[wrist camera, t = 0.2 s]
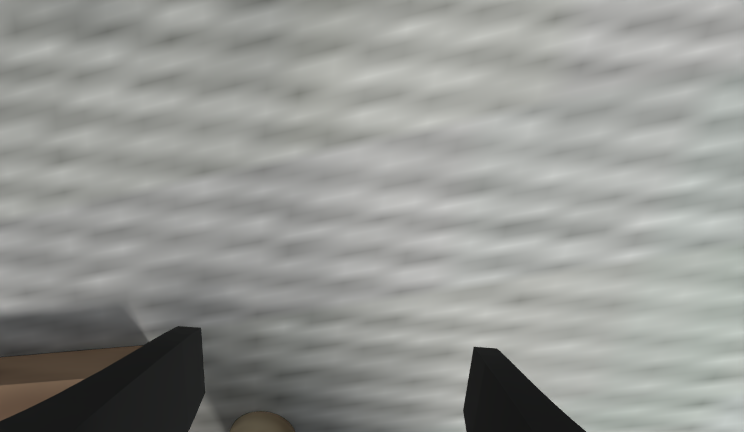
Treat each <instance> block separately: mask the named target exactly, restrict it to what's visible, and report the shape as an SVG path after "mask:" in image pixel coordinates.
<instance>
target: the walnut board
mask: <svg viewBox="0 0 744 432" xmlns="http://www.w3.org/2000/svg"><path fill="white" fill-rule="evenodd" d="M142 346H144V345H142ZM142 346H130V347H118V348H106V349H94V350H82V351H70V352H58V353H46V354H35V355H23V356H11V357H0V421H2V420H4V419H6V418H8V417H10V416H13V415H15V414H17V413H19V412H21V411H23V410H26V409H28V408H30V407H32V406H34V405H36V404H38V403H40V402H42V401H44V400H46V399H48V398H50V397H52V396H54V395H56V394H58V393H60V392H62V391H64V390H65V389H67V388H69V387H71V386H73V385H75V384H77V383H78V382H80V381H82V380H84V379H86V378H88V377H90V376H91V375H93V374H95V373H97V372H99V371H101V370H102V369H104V368H106V367H108V366H109V365H111V364H113V363H114V362H116V361H118V360H120V359H121V358H123V357H125V356H126V355H128V354H130V353H132V352H133V351H135V350H137V349H138V348H140V347H142Z"/></svg>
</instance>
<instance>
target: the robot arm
mask: <svg viewBox="0 0 744 432" xmlns="http://www.w3.org/2000/svg"><path fill="white" fill-rule="evenodd" d="M204 394H205V384H204V369H203V353H202V337H201V328H195V327H181V326H178V327H176V328H174V329H172V330H170V331H168V332H166V333H164V334H162V335H161V336H159V337H157V338H155V339H154V340H152V341H150V342H149V343H147V344H145V345H144V346H142V347H140V348H138V349H137V350H135V351H133V352H132V353H130V354H128V355H126V356H125V357H123V358H121V359H120V360H118V361H116V362H114V363H113V364H111V365H109V366H108V367H106V368H104V369H102V370H101V371H99V372H97V373H95V374H93V375H91V376H90V377H88V378H86V379H84V380H82V381H80V382H78V383H77V384H75V385H73V386H71V387H69V388H67V389H65V390H64V391H62V392H60V393H58V394H56V395H54V396H52V397H50V398H48V399H46V400H44V401H42V402H40V403H38V404H36V405H34V406H32V407H30V408H28V409H26V410H23V411H21V412H19V413H17V414H15V415H13V416H10V417H8V418H6V419H4V420H2V421H0V432H188V431H189V429H190V427H191V424H192V422H193V420H194V418H195V415H196V413H197V411H198V408H199V406H200V403H201V401H202V399H203V396H204ZM463 412H464V418H465V424H466V431H467V432H586V431H585V430H584V429H582V428H581V427H580V426H579V425H578V424H576V423H575V422H574V421H573V420H572V419H571V418H569V417H568V416H567V415H566V414H565V413H564V412H563V411H562V410H561V409H559V408H558V407H557V406H556V405H555V404H554V403H553V402H552V401H551V400H550V399H549V398H547V397H546V396H545V395H544V394H543V393H542V392H541V391H540V390H539V389H538V388H537V387H536V386H535V385H534V384H533V383H532V382H531V381H530V380H529V379H528V378H527V377H526V376H525V375H524V374H523V373H522V372H521V371H520V370H519V369H518V368H517V367H516V366H515V365H514V364H513V363H512V362H511V361H510V360H509V359H507V358H506V357H505V356H504V355H503V354H502V353H501V352H500V351H499V350H498V349H495V348H481V347H474V349H473V355H472V361H471V367H470V373H469V379H468V385H467V391H466V397H465V403H464V409H463Z"/></svg>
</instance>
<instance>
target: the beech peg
mask: <svg viewBox="0 0 744 432" xmlns="http://www.w3.org/2000/svg"><path fill="white" fill-rule="evenodd" d="M230 432H295V430H294V428H293V427H292V425H291V424H290V423H289V422H288V421H287V420H285V419H284V418H282V417H281V416H279V415H276V414H274V413H270V412H263V411H257V412H251V413H248V414H245V415H243V416H241V417H240V418H238V419H237V420H236V421H235V422H234V424H233V426H232V427H231V430H230Z"/></svg>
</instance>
